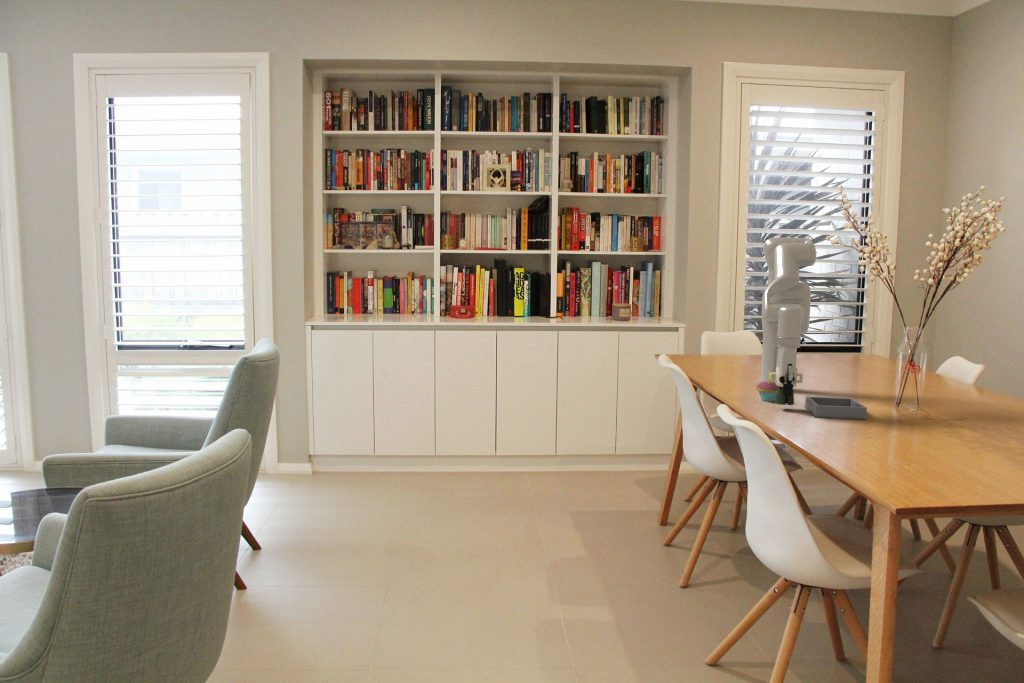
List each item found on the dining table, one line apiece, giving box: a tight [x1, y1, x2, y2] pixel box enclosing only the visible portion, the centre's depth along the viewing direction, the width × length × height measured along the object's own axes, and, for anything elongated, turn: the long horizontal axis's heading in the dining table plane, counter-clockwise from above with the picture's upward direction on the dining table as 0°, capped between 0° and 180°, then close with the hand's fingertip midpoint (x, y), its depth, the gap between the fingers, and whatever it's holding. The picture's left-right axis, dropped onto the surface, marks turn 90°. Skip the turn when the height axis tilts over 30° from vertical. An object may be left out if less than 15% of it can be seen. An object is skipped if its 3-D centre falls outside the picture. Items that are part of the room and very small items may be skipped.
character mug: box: [770, 367, 804, 406], centre depth 270 cm, size 11×7×13 cm, turn 81°
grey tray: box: [804, 395, 868, 421], centre depth 266 cm, size 16×16×4 cm
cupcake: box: [755, 371, 778, 403], centre depth 286 cm, size 9×8×12 cm
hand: (785, 392), depth 270 cm, fingers closed on character mug, 7 cm apart
